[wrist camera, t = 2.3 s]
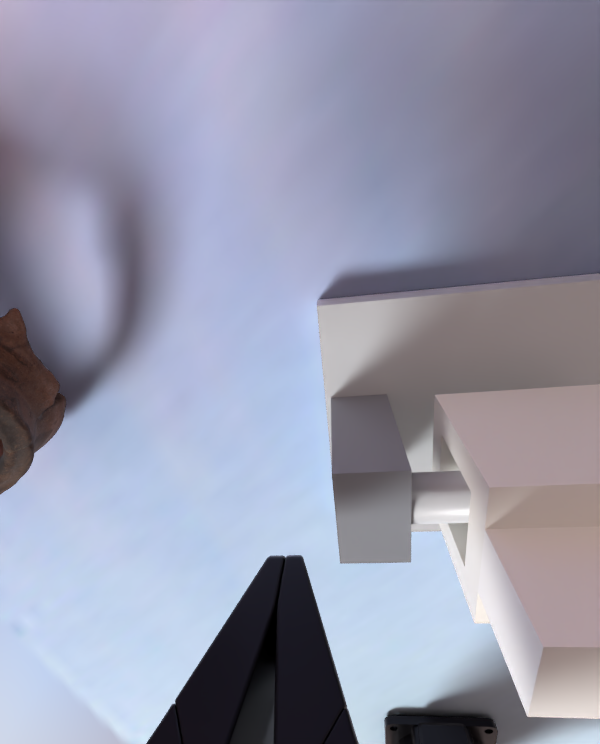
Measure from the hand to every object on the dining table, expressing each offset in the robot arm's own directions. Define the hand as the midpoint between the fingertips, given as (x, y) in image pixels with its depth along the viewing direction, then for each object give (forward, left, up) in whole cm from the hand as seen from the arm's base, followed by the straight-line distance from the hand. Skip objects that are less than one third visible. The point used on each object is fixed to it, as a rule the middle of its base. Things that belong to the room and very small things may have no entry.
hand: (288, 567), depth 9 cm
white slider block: (0, -7, -4) cm, 8 cm away
